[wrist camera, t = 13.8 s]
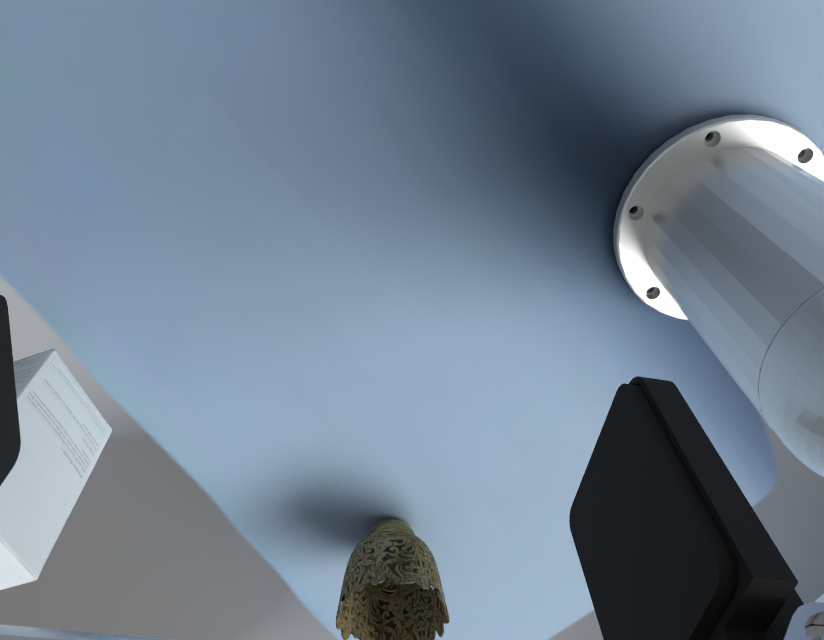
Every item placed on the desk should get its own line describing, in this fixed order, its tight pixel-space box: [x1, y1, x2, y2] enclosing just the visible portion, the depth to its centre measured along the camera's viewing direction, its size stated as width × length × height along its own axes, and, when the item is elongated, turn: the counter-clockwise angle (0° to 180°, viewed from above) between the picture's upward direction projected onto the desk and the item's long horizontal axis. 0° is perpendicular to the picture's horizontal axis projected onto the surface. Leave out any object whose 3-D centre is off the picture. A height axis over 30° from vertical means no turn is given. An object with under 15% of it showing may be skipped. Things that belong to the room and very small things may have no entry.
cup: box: [336, 519, 449, 640], centre depth 51 cm, size 8×7×8 cm
